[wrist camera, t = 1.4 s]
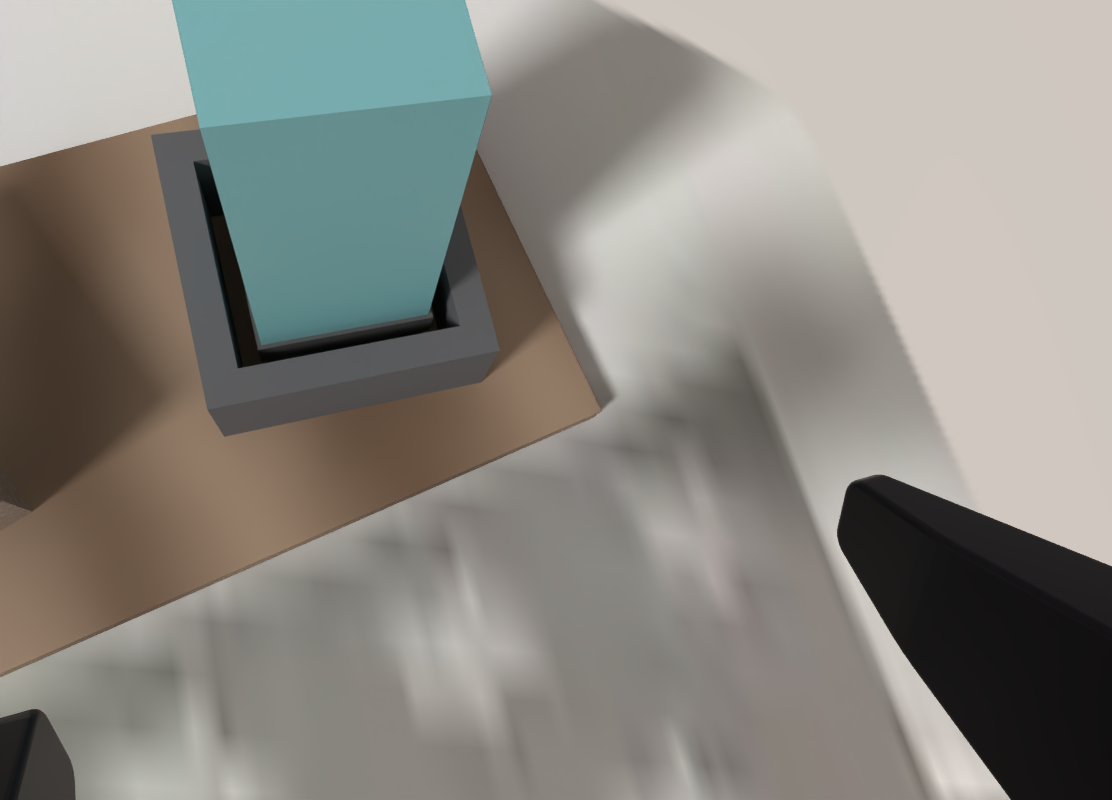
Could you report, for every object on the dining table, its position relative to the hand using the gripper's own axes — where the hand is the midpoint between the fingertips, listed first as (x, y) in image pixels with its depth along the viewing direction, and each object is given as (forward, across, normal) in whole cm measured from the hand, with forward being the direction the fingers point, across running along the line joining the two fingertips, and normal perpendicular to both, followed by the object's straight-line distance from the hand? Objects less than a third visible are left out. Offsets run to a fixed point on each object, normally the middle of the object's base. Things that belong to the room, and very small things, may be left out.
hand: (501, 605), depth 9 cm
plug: (+16, 0, +3) cm, 16 cm away
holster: (+16, 0, +3) cm, 16 cm away
